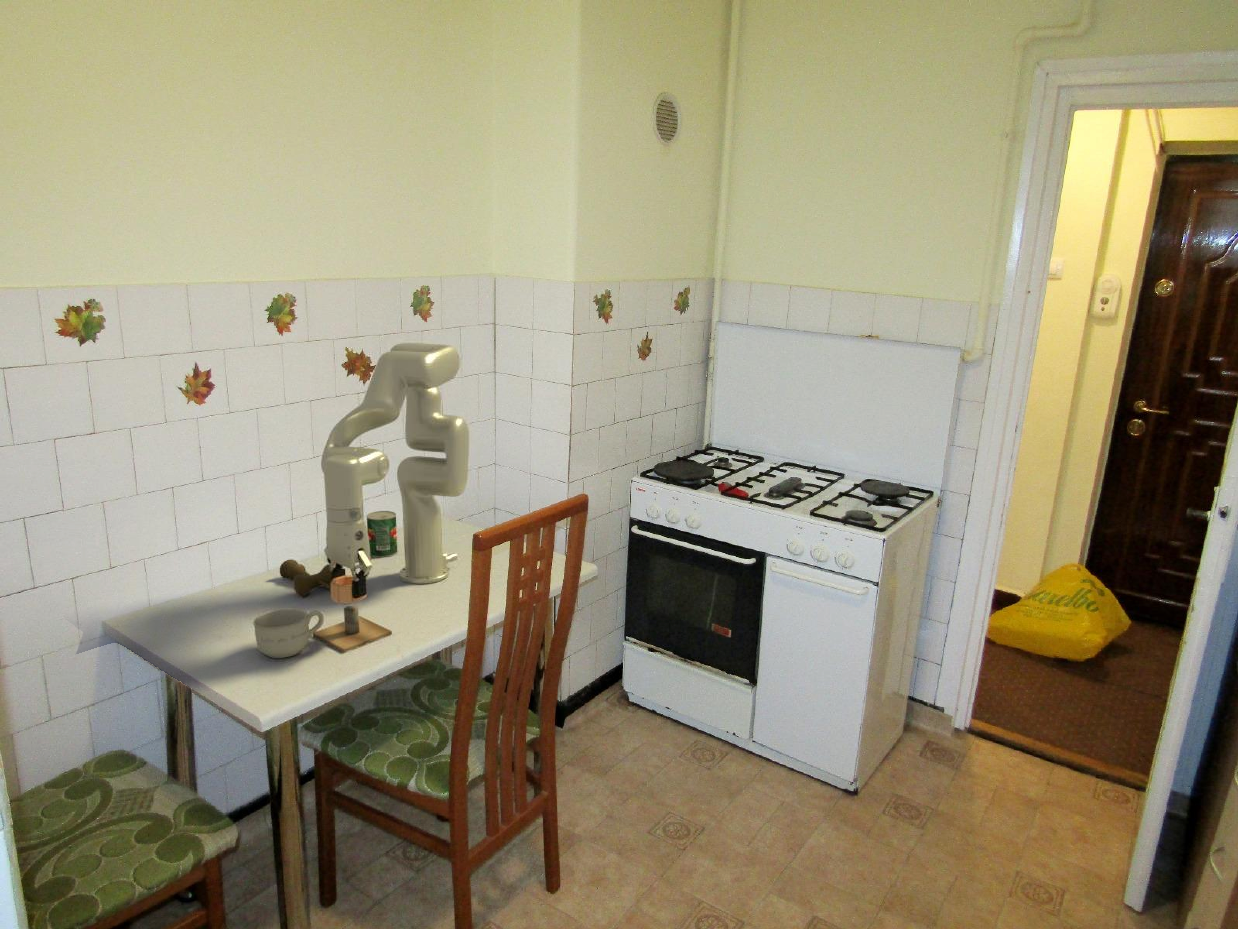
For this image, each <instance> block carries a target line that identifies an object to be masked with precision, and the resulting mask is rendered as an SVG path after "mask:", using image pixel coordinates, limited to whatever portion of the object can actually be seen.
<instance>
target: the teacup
mask: <svg viewBox="0 0 1238 929" xmlns="http://www.w3.org/2000/svg"><path fill="white" fill-rule="evenodd" d="M315 616H317V617H318V620H317V623H316V624H315V625H314V626H313V627H312V628H310V627H309V625H310V623H311V619H312V618H313V617H315ZM324 621H325V617H324V615H323V613H322V612H321V611H319V610H312V611H310V612H307V610H304V609H301V608H280V609H275V610H271V611H268V612H265V613H262V614H260V615H258V616H257V617H256V618H255V619H254V620H253V623H252V624H253V626H254V633H255V634H254V635H255V642H256V646H257V647H258V650H259V651H260V652H261V653H262V654H265V655H267V656H268V657H269V658H274V659H282V658H288V657H292V656H295V655H297V654H299V653H300V652H302V650H303V649H304V648H305V647H306V646H307V645H308V643H309V640H310V638H311V637H313V633H315V632H317V631H319V630H320V628H321V627H322V626H323V624H324Z"/></svg>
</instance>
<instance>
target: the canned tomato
mask: <svg viewBox="0 0 1238 929" xmlns="http://www.w3.org/2000/svg"><path fill="white" fill-rule="evenodd" d="M366 527H367V532H368V538H369V546H370V555H371V556H370V557H373V558H387V557H392V555H393V556H395V555H396V554H398V551H399V550H398V531H397V530H398V529H397V513H396V512H394V511H389V510H378V511H373V512H370V513H368V514H366Z"/></svg>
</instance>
